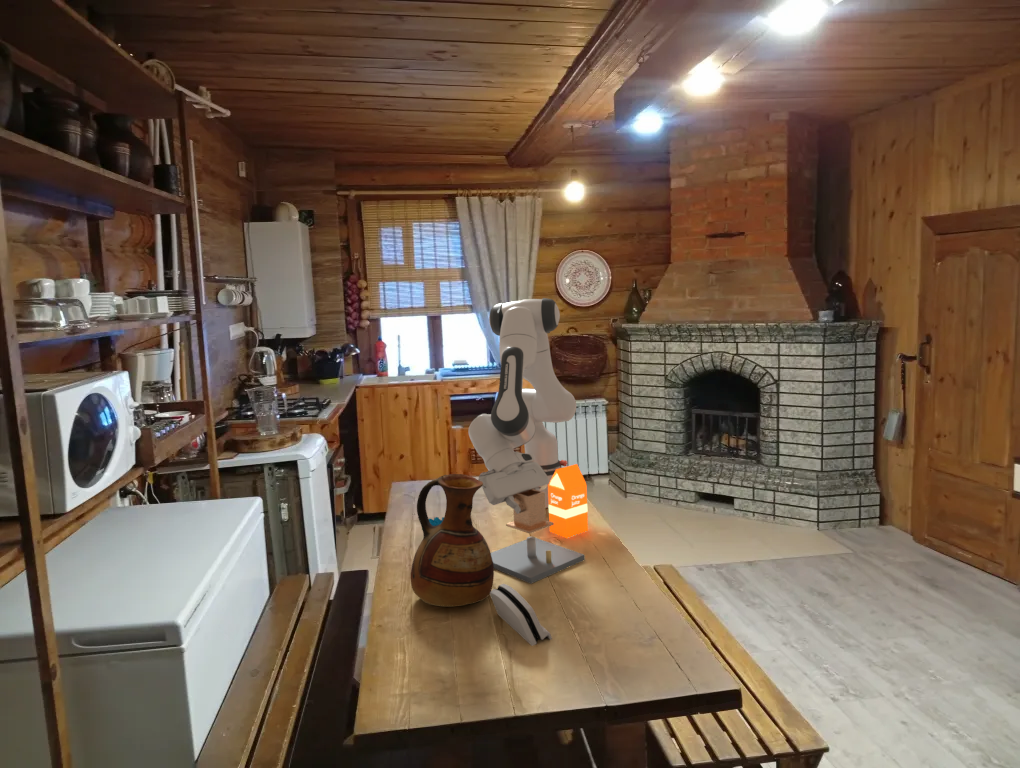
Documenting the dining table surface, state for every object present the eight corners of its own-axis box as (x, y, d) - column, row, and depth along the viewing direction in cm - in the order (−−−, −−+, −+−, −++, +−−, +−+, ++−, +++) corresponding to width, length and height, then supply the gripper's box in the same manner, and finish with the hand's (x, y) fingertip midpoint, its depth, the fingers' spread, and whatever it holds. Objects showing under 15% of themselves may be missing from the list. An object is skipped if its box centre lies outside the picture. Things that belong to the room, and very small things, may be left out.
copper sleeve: (530, 517, 192) (529, 485, 191) (553, 524, 185) (552, 492, 184) (506, 525, 186) (504, 493, 185) (529, 533, 179) (528, 499, 178)
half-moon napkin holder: (553, 639, 146) (537, 601, 143) (534, 652, 144) (518, 613, 141) (516, 608, 161) (501, 572, 158) (499, 619, 159) (484, 584, 156)
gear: (463, 527, 211) (451, 513, 203) (461, 546, 207) (450, 532, 200) (429, 531, 213) (416, 517, 206) (427, 549, 210) (414, 535, 202)
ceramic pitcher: (484, 619, 156) (477, 490, 152) (399, 615, 160) (390, 489, 156) (503, 582, 175) (497, 466, 171) (426, 579, 179) (419, 466, 175)
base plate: (533, 541, 201) (532, 520, 200) (584, 559, 186) (583, 536, 186) (479, 562, 188) (478, 539, 187) (530, 583, 173) (529, 558, 172)
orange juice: (549, 531, 209) (546, 467, 206) (571, 524, 214) (568, 461, 211) (566, 538, 203) (564, 472, 200) (588, 531, 208) (586, 466, 205)
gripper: (480, 467, 182) (507, 511, 176) (536, 453, 195) (563, 493, 189) (470, 481, 186) (496, 524, 180) (526, 466, 199) (551, 505, 193)
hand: (531, 508), depth 185 cm, fingers closed on copper sleeve, 6 cm apart
